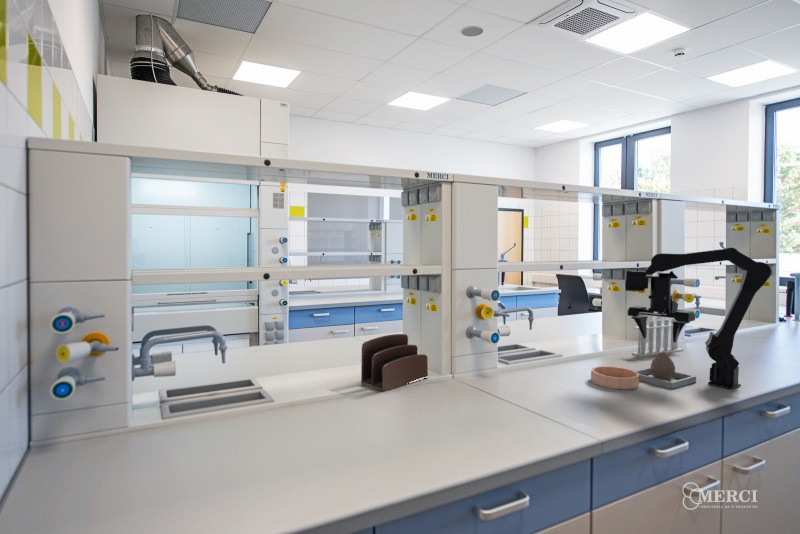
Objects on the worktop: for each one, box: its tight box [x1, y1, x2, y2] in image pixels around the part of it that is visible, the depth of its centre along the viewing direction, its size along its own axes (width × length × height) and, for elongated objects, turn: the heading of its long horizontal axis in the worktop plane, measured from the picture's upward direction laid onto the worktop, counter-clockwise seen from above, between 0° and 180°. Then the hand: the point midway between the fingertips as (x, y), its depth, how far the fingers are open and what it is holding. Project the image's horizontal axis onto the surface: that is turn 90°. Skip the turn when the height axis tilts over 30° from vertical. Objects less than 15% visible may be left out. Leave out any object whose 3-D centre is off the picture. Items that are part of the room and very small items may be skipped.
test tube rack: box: [631, 318, 685, 358], centre depth 190 cm, size 25×4×13 cm, turn 116°
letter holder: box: [360, 333, 429, 393], centre depth 148 cm, size 10×20×14 cm, turn 135°
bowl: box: [590, 365, 640, 390], centre depth 149 cm, size 13×13×3 cm
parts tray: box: [634, 366, 697, 390], centre depth 152 cm, size 14×14×2 cm
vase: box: [650, 352, 676, 382], centre depth 152 cm, size 7×7×9 cm
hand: (659, 340), depth 155 cm, fingers open, 9 cm apart
